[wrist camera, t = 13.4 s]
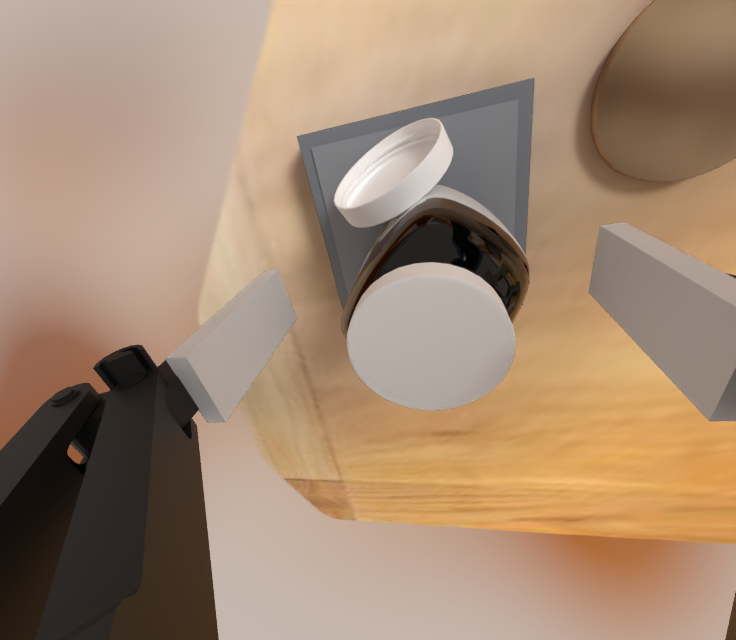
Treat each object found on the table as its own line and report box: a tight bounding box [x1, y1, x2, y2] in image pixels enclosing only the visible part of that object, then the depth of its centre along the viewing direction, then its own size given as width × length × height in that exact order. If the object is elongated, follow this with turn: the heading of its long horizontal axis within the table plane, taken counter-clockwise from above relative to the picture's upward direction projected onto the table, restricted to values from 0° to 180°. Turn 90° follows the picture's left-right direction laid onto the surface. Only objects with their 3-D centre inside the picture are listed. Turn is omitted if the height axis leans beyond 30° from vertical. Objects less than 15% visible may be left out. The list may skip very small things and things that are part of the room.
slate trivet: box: [297, 78, 534, 309], centre depth 23 cm, size 14×14×3 cm
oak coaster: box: [591, 0, 736, 182], centre depth 17 cm, size 10×10×1 cm
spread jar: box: [334, 118, 529, 410], centre depth 17 cm, size 12×11×12 cm
